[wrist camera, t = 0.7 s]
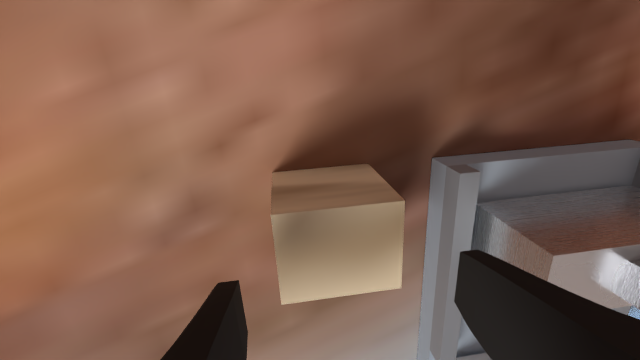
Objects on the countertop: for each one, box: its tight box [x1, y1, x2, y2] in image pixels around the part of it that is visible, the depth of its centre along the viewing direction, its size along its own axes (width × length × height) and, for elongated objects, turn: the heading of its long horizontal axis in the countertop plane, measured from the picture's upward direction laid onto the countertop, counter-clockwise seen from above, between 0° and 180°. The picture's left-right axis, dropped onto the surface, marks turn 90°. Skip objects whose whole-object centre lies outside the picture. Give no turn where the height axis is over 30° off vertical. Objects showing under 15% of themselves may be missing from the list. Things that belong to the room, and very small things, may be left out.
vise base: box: [417, 140, 640, 360], centre depth 17 cm, size 15×12×6 cm
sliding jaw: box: [470, 185, 640, 310], centre depth 14 cm, size 3×9×6 cm, turn 93°
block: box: [271, 164, 405, 305], centre depth 14 cm, size 4×5×5 cm
